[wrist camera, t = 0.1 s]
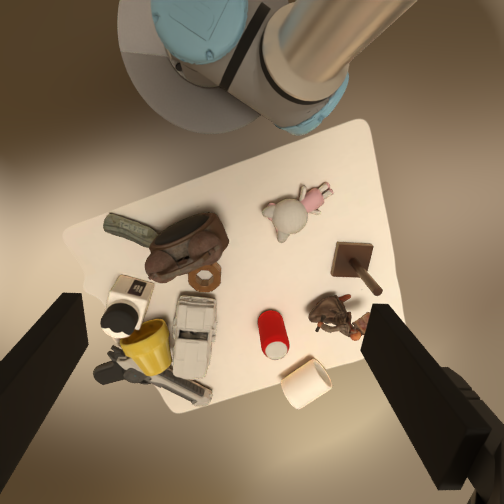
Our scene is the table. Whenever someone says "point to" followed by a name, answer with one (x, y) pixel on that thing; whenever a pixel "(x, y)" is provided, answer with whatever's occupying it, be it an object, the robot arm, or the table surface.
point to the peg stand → (354, 263)
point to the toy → (295, 211)
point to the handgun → (149, 378)
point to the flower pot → (149, 347)
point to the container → (126, 306)
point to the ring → (205, 284)
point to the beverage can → (273, 335)
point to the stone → (129, 230)
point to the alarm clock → (186, 247)
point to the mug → (306, 384)
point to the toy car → (193, 336)
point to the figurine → (338, 317)
